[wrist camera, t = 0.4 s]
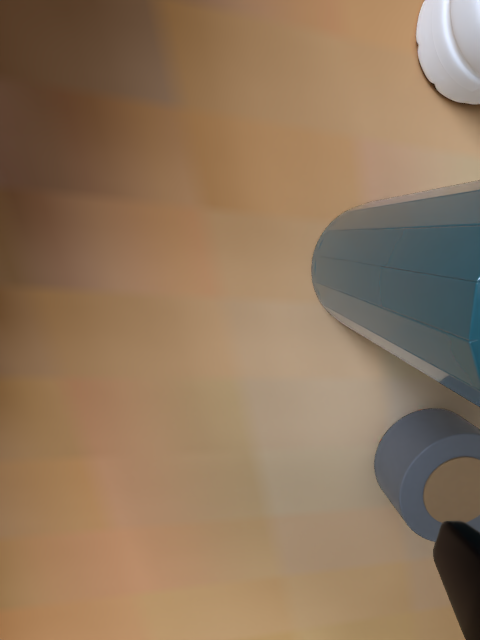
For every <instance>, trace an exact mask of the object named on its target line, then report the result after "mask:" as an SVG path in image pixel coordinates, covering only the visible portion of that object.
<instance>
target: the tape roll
mask: <svg viewBox="0 0 480 640" xmlns="http://www.w3.org/2000/svg"><path fill="white" fill-rule="evenodd" d="M374 469H375V475H376V479H377V482H378V484H379V486H380V488H381V489H382V491H383V492H384V493H385V495H386V496H387V498H388V499H389V500H390V502H391V503H392V504H393V506H394V507H395V509H396V510H397V511H398V513H399V514H400V515H401V517H402V518H403V520H404V521H405V522H406V524H407V525H408V526H409V527H410V528H411V530H413V531H414V532H415V533H416V534H418V535H419V536H421V537H423V538H425V539H427V540H430V541H434V542H436V539H437V536H438V532H439V529H440V526H441V524H442V523H443V522H444V521H463V522H465V523H467V524H468V525H470V526H471V527H473V528H474V529H476V530H477V531H479V532H480V430H479V429H478V428H476V427H475V426H474V425H472V424H471V423H469V422H468V421H466V420H465V419H463V418H462V417H460V416H459V415H457V414H455V413H453V412H451V411H448V410H444V409H423V410H419V411H416V412H413V413H410V414H408V415H406V416H404V417H403V418H401V419H400V420H398V421H397V422H396V423H395V424H393V425H392V426H391V427H390V429H389V430H388V431H387V432H386V433H385V435H384V436H383V438H382V439H381V441H380V443H379V445H378V448H377V451H376V454H375V461H374Z"/></svg>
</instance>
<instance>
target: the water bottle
mask: <svg viewBox="0 0 480 640" xmlns="http://www.w3.org/2000/svg"><path fill="white" fill-rule="evenodd" d="M416 41H417V43H418V45H419V46H418V58H419V61H420V64H421V67H422V69H423V71H424V74H425V75H426V77H427V79H428V80H429V81H430V82H431V83H434V84H435V87H436V89H437V90H438V91H439V92H440V93H441V94H442V95H444V96H445V97H447V98H449V99H451V100H453V101H456V102H459V103H468V104H480V0H425V1H424V3H423V5H422V7H421V10H420V13H419V17H418V22H417V29H416Z"/></svg>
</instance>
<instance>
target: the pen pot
mask: <svg viewBox="0 0 480 640" xmlns="http://www.w3.org/2000/svg"><path fill="white" fill-rule="evenodd" d="M311 271H312V282H313V286H314V290H315V292H316V295H317V297H318V299H319V301H320V302H321V304H322V305H323V307H324V308H325V309H326V310H327V311H328V312H329V313H330V314H331V315H332V316H333V317H335V318H336V319H337V320H338V321H339V322H341V323H342V324H344V325H345V326H347V327H349V328H350V329H352V330H354V331H355V332H357V333H359V334H360V335H362V336H363V337H365V338H367V339H368V340H370V341H372V342H373V343H375V344H377V345H378V346H380V347H382V348H383V349H385V350H387V351H388V352H390V353H391V354H393V355H395V356H396V357H398V358H400V359H401V360H403V361H405V362H406V363H408V364H410V365H411V366H413V367H415V368H416V369H418V370H419V371H421V372H423V373H424V374H426V375H428V376H429V377H431V378H433V379H434V380H436V381H438V382H439V383H441V384H443V385H444V386H446V387H447V388H449V389H451V390H452V391H454V392H456V393H457V394H459V395H461V396H462V397H464V398H466V399H467V400H469V401H470V402H472V403H474V404H475V405H477V406H479V407H480V180H478V181H473V182H468V183H463V184H458V185H453V186H448V187H443V188H438V189H433V190H428V191H422V192H417V193H412V194H407V195H402V196H397V197H392V198H387V199H382V200H377V201H372V202H368V203H366V204H364V205H359V206H356V207H353V208H351V209H349V210H347V211H345V212H344V213H342V214H341V215H339V216H338V217H337V218H336V219H334V220H333V221H332V222H331V223H330V224H329V226H328V227H327V228H326V229H325V231H324V232H323V233H322V235H321V237H320V239H319V241H318V242H317V245H316V248H315V250H314V254H313V258H312V267H311Z"/></svg>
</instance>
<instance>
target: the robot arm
mask: <svg viewBox="0 0 480 640" xmlns="http://www.w3.org/2000/svg"><path fill="white" fill-rule="evenodd" d="M433 557H434V561H435V564H436V567H437V569H438V572H439V574H440V577H441V580H442V582H443V585H444V587H445V590H446V592H447V595H448V597H449V600H450V602H451V605H452V607H453V610H454V612H455V615H456V617H457V620H458V622H459V625H460V627H461V630H462V632H463V635H464V637H465V639H466V640H480V532H479V531H477V530H476V529H474V528H473V527H471V526H470V525H468V524H467V523H465V522H463V521H444V522H443V523H442V524H441V526H440V529H439V532H438V536H437V539H436V542H435V546H434V549H433Z"/></svg>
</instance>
